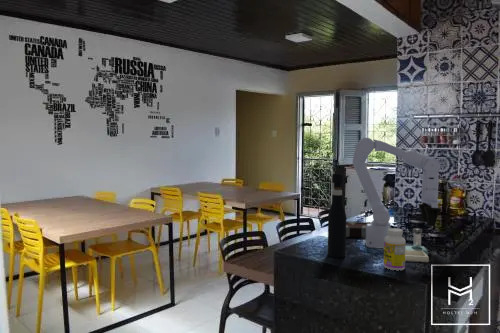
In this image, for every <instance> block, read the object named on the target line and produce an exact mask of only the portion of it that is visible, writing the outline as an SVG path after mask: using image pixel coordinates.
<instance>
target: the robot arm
mask: <svg viewBox="0 0 500 333" xmlns="http://www.w3.org/2000/svg"><path fill="white" fill-rule="evenodd" d="M373 151H374V152H385V153H388V154H389V155H390V154H391V155H393V156H395V157H398V158H401V159H402V162H403V163H404V164H407V165H408V166H409V165H410V166H412V167H415V168H416V169H420V170H421V169H422V176H421V177H422V180H421V181H422V183H421V198H420V202H421V203H417V204H418V207H419V209H420V213H421V218H422V222H424V223H427V225H428V226H429V227H434V226H436V222H437V219H438V217H439V215H440V213H441V211H442V208H441V207H439V203H442V200H440V199H439V182H440V181H439V178H440V177H439V174H440V173H439V171H440V169H441V164H440V161H439V160H438V159H437V158H434V157H432V156H430V154H424V153H421V152H418V150H417V149H415V148H413V149H406V150H405V149H402V148H399V147H397V146H395V145H392V144H391V143H387V142H385V141H383V140H378V139H372V138H370V137H362V138H360V140H359V141H358V143H357V144H356V145H355V148H354V154H353V159H352V165H353V168H354V170H355V172H356V174H357V177H358V179H359V181H360V184H361V186H362V189H363V191H364V193H365V196H366V197H367V200H368V202H369V205H370V207H371V210H372V219H373V220H372V221H371V222H372V223H371V224H366V238H364V239H365V240H364V241H365V242H364V243H365V245H366V247H367V248H370V249H371V248H372V249H373V248H375V249H384V239H385V237H386V236H388V233H387V231H388V229H389V228H391V222H390V220H391V214H390V210H389V209H388V208H387V207H386V206H385V205H384V204H383V202H382V199H381V197H380V195H379V192H378V191H377V190H378V189H377V188H376V186H375V183H374V180H373V179H372V176H371V174H370V171H369V169H368V167H367V165H366V161H367V159H368V157H369V155H370V154H371V153H372V152H373Z"/></svg>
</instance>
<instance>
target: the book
mask: <svg viewBox="0 0 500 333" xmlns="http://www.w3.org/2000/svg"><path fill="white" fill-rule="evenodd" d="M371 223H372V221H366V222H361V221H357V222H356V221H355V220H354V221H353V220H352V221H351V220H346V238H349V237H351V238H363V239H365V238H366V224H371Z"/></svg>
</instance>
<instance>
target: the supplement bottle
mask: <svg viewBox="0 0 500 333" xmlns="http://www.w3.org/2000/svg"><path fill="white" fill-rule="evenodd" d="M403 230H404V229H401V228H397V227H396V228H393V227H390V228H389V229H388V231H387V233H388V236H386V237H385V239H384V248H383V267H384V268H385V269H386V268H387V270H389V269H390V271H394V270H396V272H397V271H398V272H399V270H400V271H403V270H404V269H405V268H406V261H405V247H406V246H407V244H406V242H407V241H406V239H405V238H404V237H403V233H404V231H403Z"/></svg>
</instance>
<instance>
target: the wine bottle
mask: <svg viewBox="0 0 500 333" xmlns="http://www.w3.org/2000/svg"><path fill="white" fill-rule="evenodd" d="M331 179H332V180H331V183H332V184H333V191H332V196H331V205H330V208H329V211H328V214H327V215H328V218H327V256H328V255H329V256H328V257H330V256H333V257H332V258H335V257H342V258H345V257H346V256H345V255H346V254H347V252H346V251H347V250H346V249H347V248H346V247H347V246H346V244H347V237H346V221H347V214H346V209H345V206H344V202H343V198H344V197H343V196H344V195H343V190H342V184H343V183H344V173H332V178H331ZM344 256H345V257H344Z"/></svg>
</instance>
